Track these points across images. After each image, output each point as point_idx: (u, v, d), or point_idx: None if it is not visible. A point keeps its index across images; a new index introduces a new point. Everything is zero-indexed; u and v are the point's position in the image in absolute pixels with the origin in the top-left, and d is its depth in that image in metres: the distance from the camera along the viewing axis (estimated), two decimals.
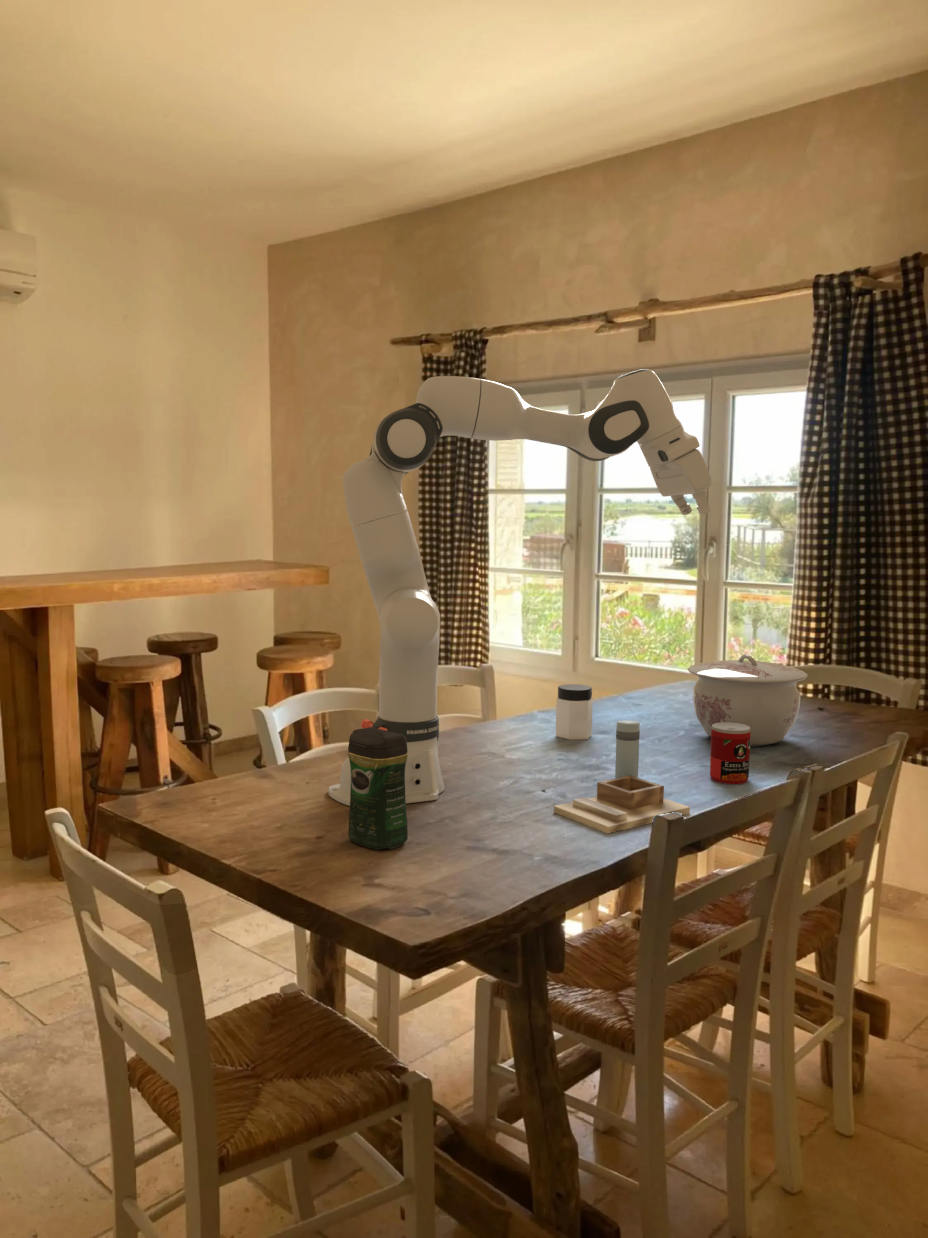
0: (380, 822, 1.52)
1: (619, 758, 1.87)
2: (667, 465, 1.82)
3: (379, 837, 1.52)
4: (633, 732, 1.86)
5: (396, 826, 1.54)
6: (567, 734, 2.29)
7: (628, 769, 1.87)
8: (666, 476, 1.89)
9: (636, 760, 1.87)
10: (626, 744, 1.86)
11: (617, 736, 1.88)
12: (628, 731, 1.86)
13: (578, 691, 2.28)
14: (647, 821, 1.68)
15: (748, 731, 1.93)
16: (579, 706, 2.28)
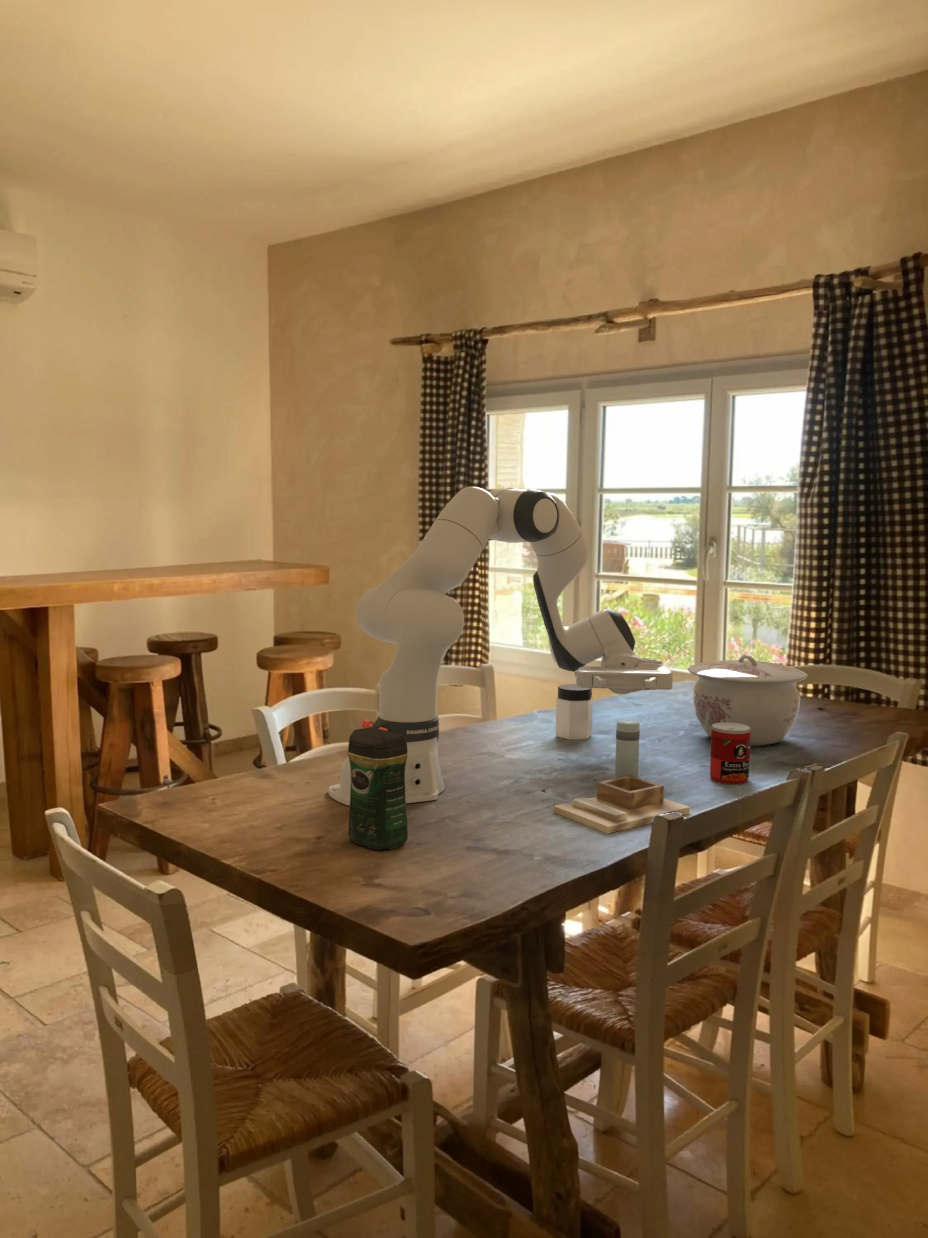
0: (380, 822, 1.52)
1: (619, 758, 1.87)
2: (644, 662, 2.10)
3: (379, 837, 1.52)
4: (633, 732, 1.86)
5: (396, 826, 1.54)
6: (567, 734, 2.29)
7: (628, 769, 1.87)
8: (612, 670, 2.08)
9: (636, 760, 1.87)
10: (625, 744, 1.86)
11: (617, 736, 1.88)
12: (628, 731, 1.86)
13: (578, 691, 2.28)
14: (647, 821, 1.68)
15: (748, 731, 1.93)
16: (579, 706, 2.28)
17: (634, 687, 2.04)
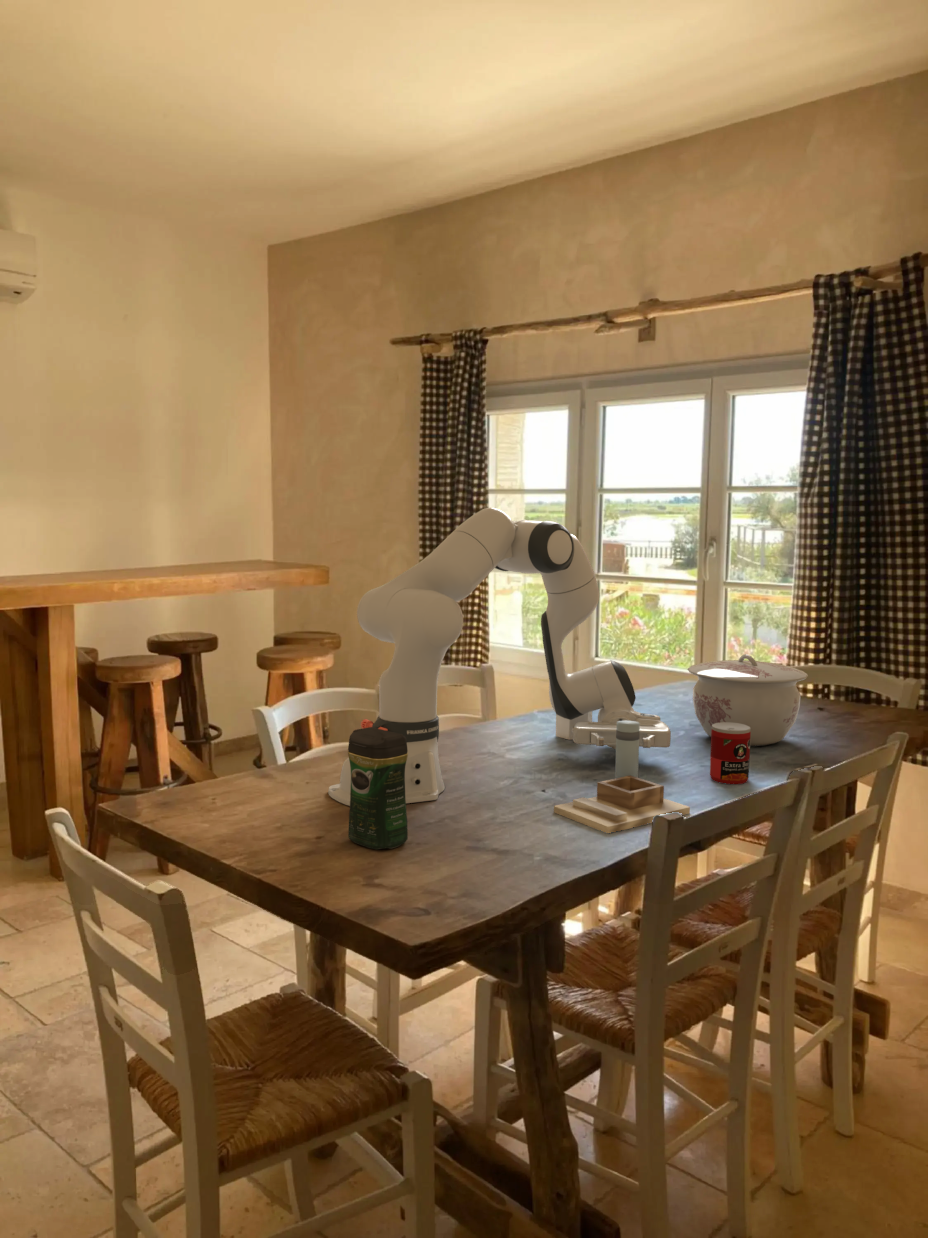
0: (380, 822, 1.52)
1: (619, 758, 1.87)
2: (642, 718, 2.08)
3: (379, 837, 1.52)
4: (633, 732, 1.86)
5: (396, 826, 1.54)
6: (567, 734, 2.29)
7: (628, 769, 1.87)
8: None
9: (636, 760, 1.87)
10: (625, 744, 1.86)
11: (617, 736, 1.88)
12: (628, 731, 1.86)
13: None
14: (647, 821, 1.68)
15: (748, 731, 1.93)
16: None
17: None
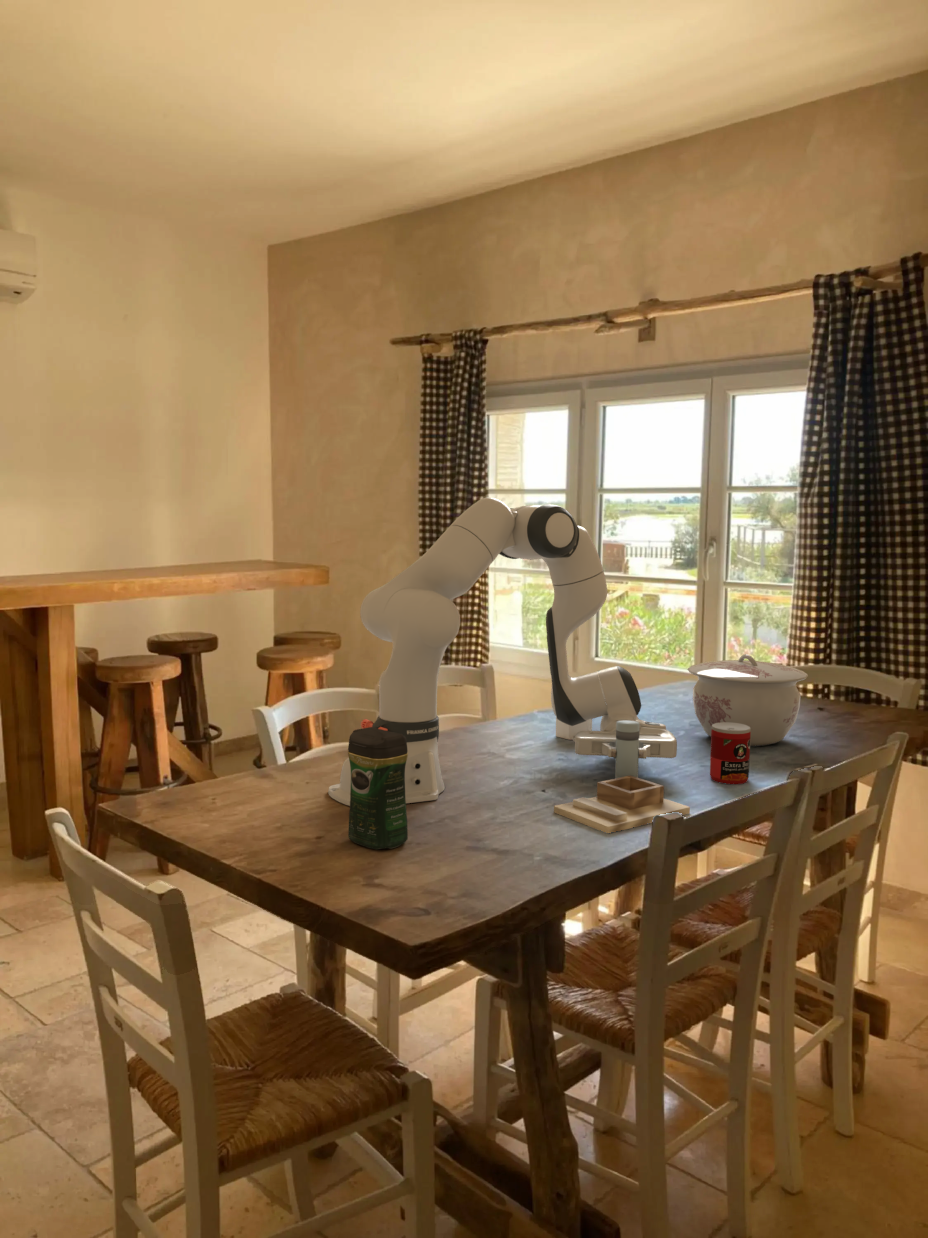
0: (380, 822, 1.52)
1: (619, 758, 1.87)
2: (647, 727, 1.98)
3: (379, 837, 1.52)
4: (633, 732, 1.86)
5: (396, 826, 1.54)
6: (567, 734, 2.29)
7: (628, 769, 1.87)
8: None
9: (636, 760, 1.87)
10: (625, 744, 1.86)
11: (617, 736, 1.88)
12: (628, 731, 1.86)
13: None
14: (647, 821, 1.68)
15: (748, 731, 1.93)
16: None
17: None
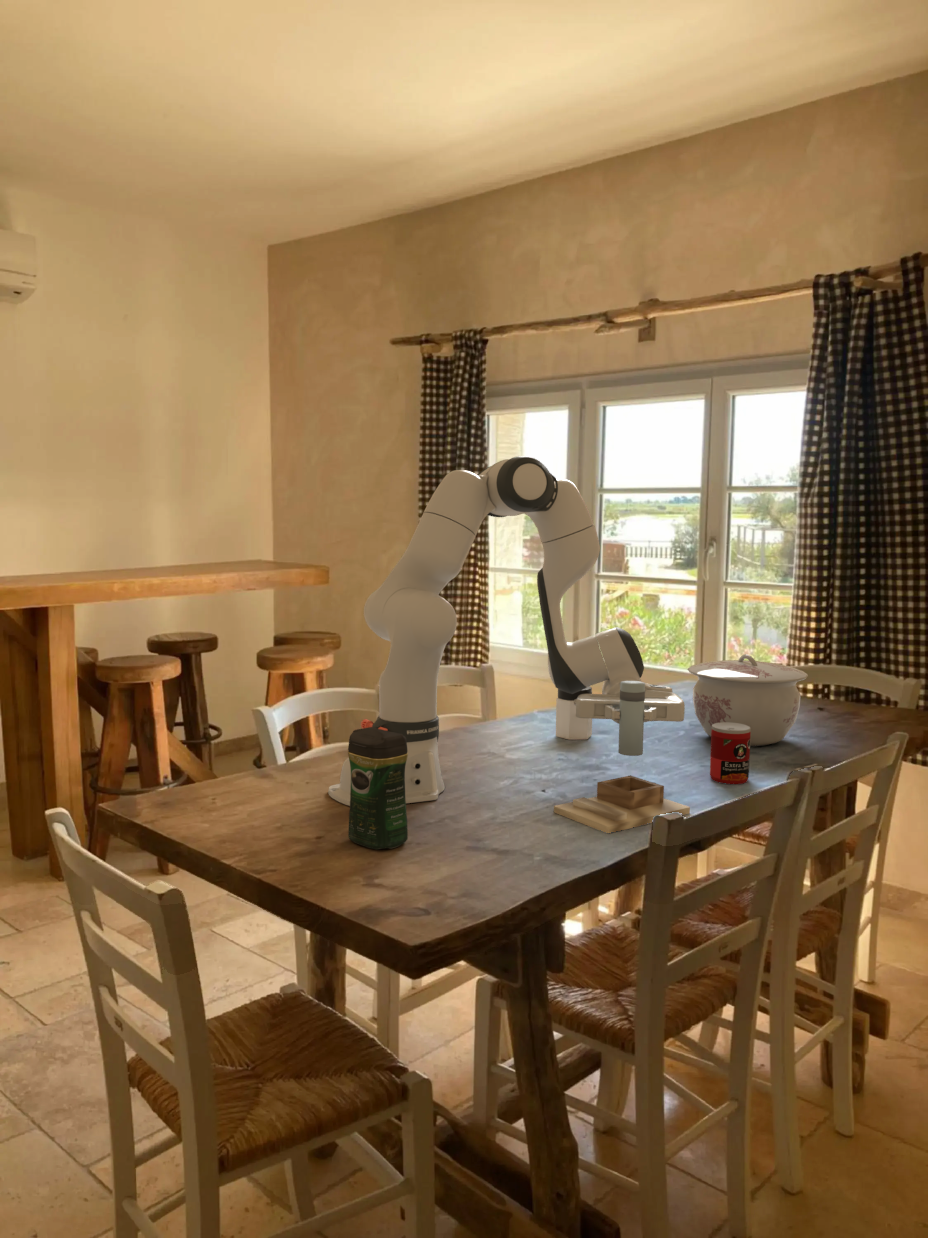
0: (380, 822, 1.52)
1: (623, 720, 1.75)
2: (652, 690, 1.86)
3: (379, 837, 1.52)
4: (638, 692, 1.74)
5: (396, 826, 1.54)
6: (567, 734, 2.29)
7: (633, 732, 1.75)
8: (616, 698, 1.85)
9: (641, 722, 1.75)
10: (630, 705, 1.74)
11: (621, 697, 1.76)
12: (633, 691, 1.74)
13: (578, 691, 2.28)
14: (647, 821, 1.68)
15: (748, 731, 1.93)
16: None
17: None
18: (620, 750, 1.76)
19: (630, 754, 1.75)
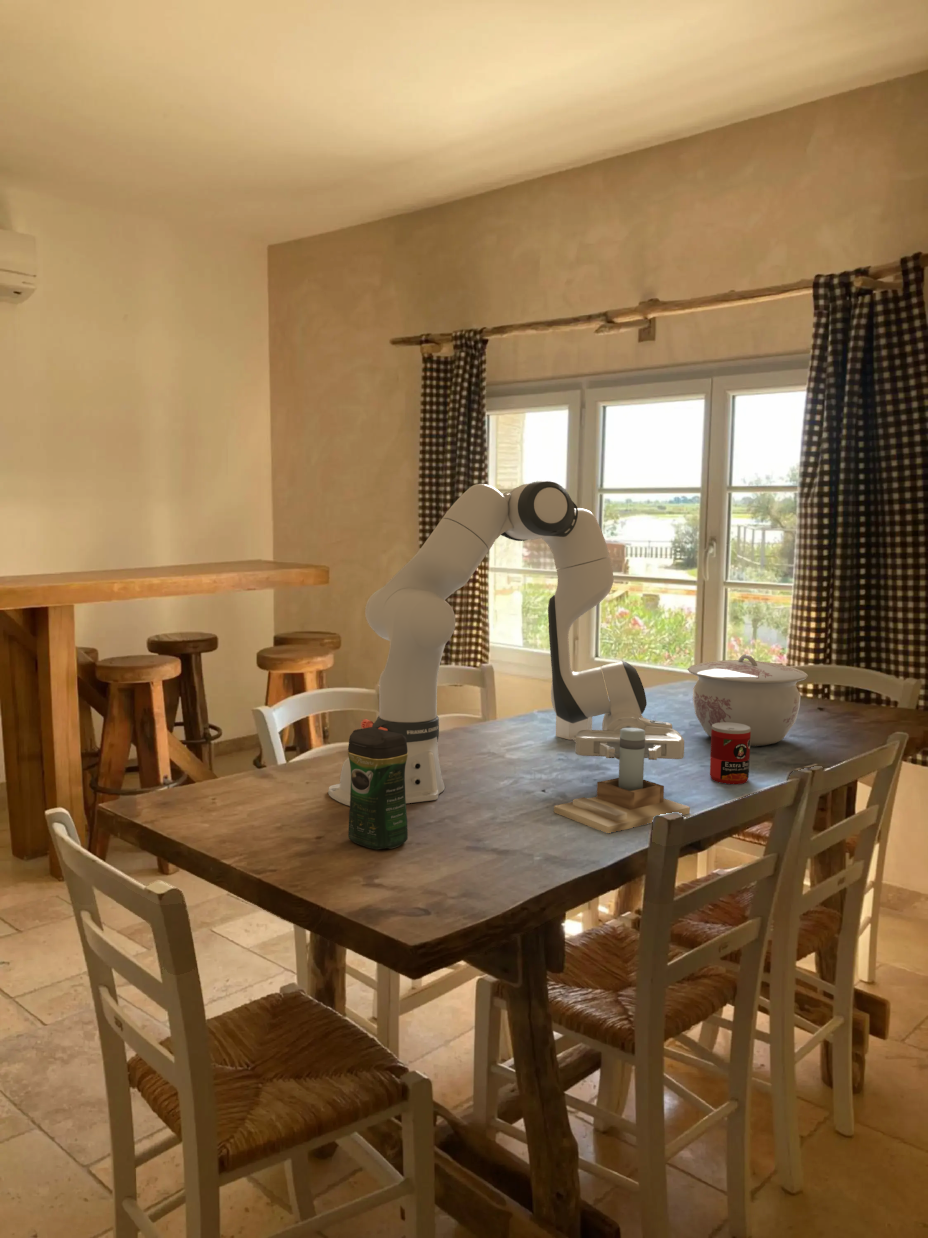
0: (380, 822, 1.52)
1: (623, 768, 1.75)
2: (652, 726, 1.86)
3: (379, 837, 1.52)
4: (638, 740, 1.74)
5: (396, 826, 1.54)
6: (567, 734, 2.29)
7: (632, 780, 1.75)
8: None
9: (641, 770, 1.75)
10: (630, 753, 1.74)
11: (621, 744, 1.76)
12: (633, 739, 1.74)
13: None
14: (647, 821, 1.68)
15: (748, 731, 1.93)
16: None
17: None
18: None
19: None
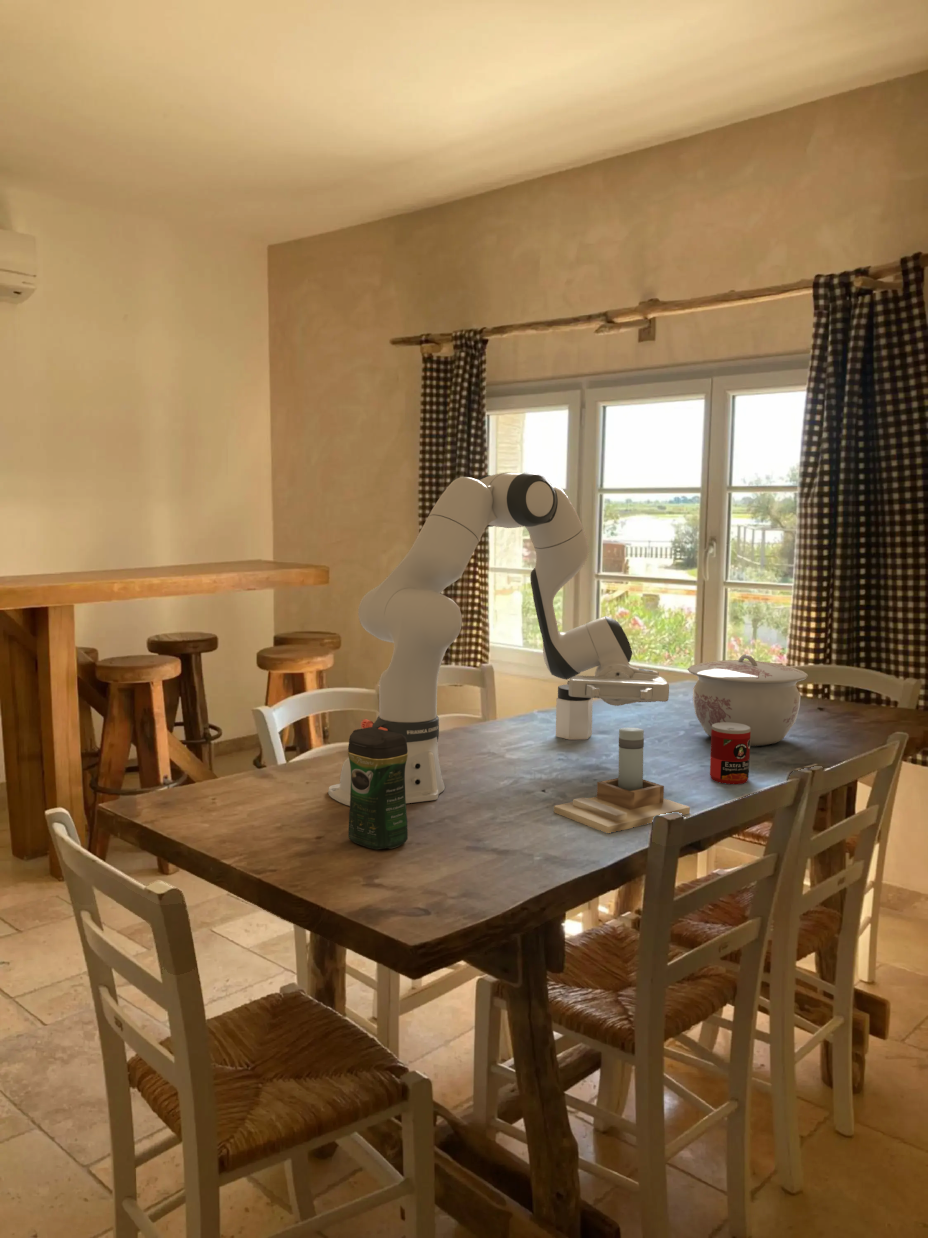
0: (380, 822, 1.52)
1: (622, 767, 1.75)
2: (640, 673, 2.01)
3: (379, 837, 1.52)
4: (637, 740, 1.74)
5: (396, 826, 1.54)
6: (567, 734, 2.29)
7: (632, 779, 1.75)
8: None
9: (640, 770, 1.75)
10: (629, 753, 1.74)
11: (620, 744, 1.76)
12: (631, 739, 1.74)
13: None
14: (647, 821, 1.68)
15: (748, 731, 1.93)
16: (579, 706, 2.28)
17: (629, 698, 1.95)
18: None
19: None
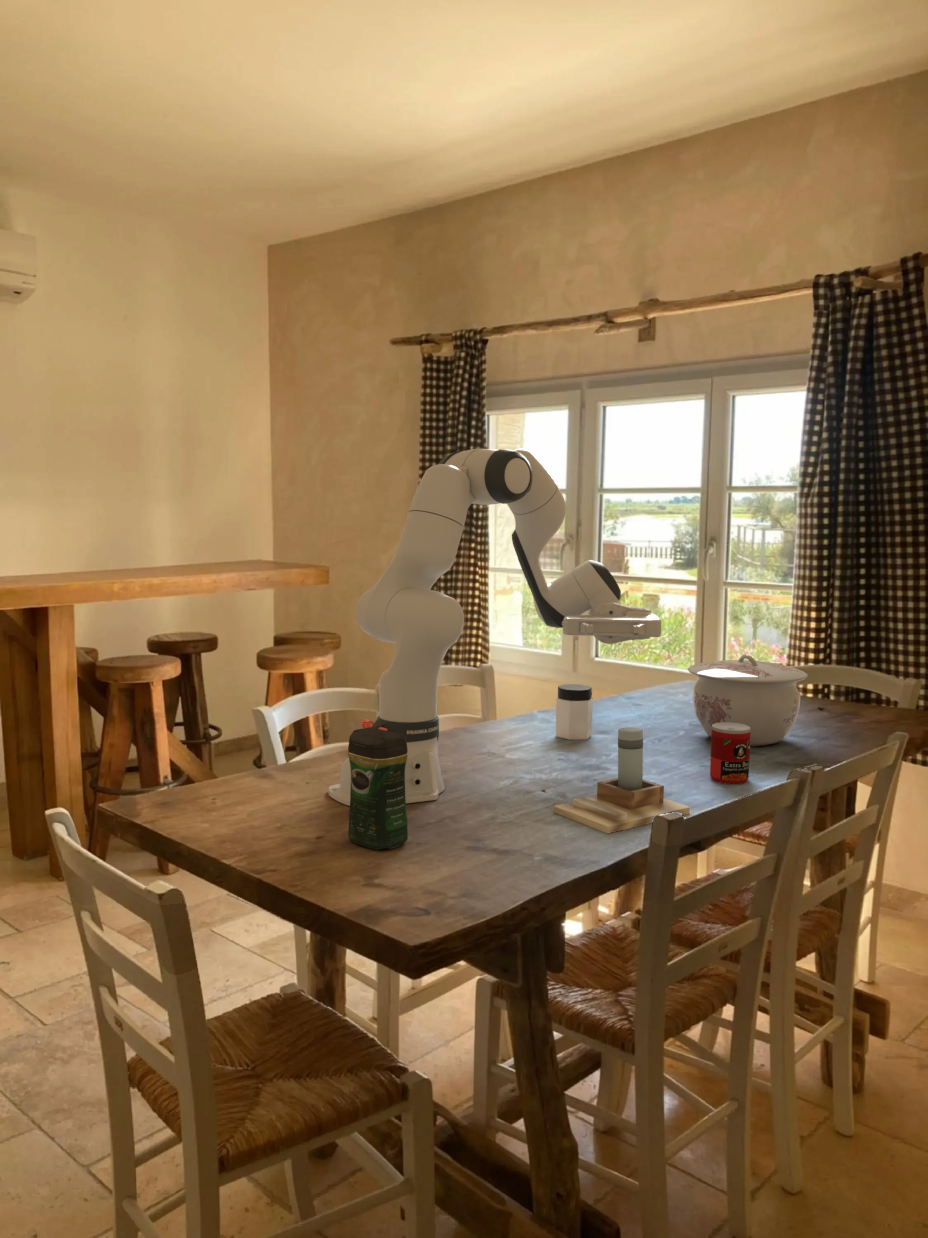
0: (380, 822, 1.52)
1: (621, 768, 1.75)
2: (633, 611, 2.05)
3: (379, 837, 1.52)
4: (636, 740, 1.74)
5: (396, 826, 1.54)
6: (567, 734, 2.29)
7: (631, 779, 1.75)
8: None
9: (640, 770, 1.75)
10: (628, 753, 1.74)
11: (619, 745, 1.76)
12: (630, 739, 1.74)
13: (578, 691, 2.28)
14: (647, 821, 1.68)
15: (748, 731, 1.93)
16: (579, 706, 2.28)
17: (622, 634, 1.99)
18: None
19: None
